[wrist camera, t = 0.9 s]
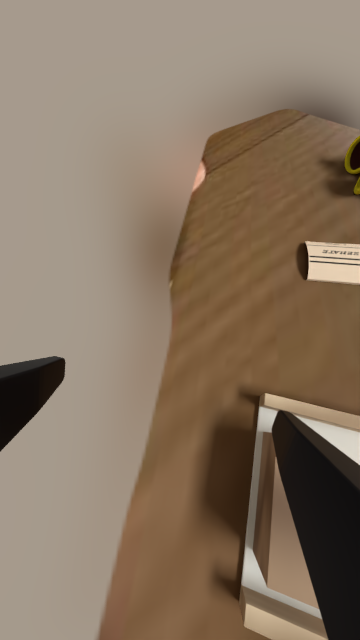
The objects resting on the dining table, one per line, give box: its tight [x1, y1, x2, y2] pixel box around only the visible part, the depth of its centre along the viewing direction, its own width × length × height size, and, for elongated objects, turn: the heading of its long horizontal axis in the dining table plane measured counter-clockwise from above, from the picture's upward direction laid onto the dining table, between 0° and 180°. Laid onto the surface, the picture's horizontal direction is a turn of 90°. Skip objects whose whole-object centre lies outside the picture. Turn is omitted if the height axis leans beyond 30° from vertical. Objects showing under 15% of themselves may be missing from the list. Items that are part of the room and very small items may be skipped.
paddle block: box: [253, 432, 319, 609], centre depth 15 cm, size 8×3×4 cm, turn 165°
